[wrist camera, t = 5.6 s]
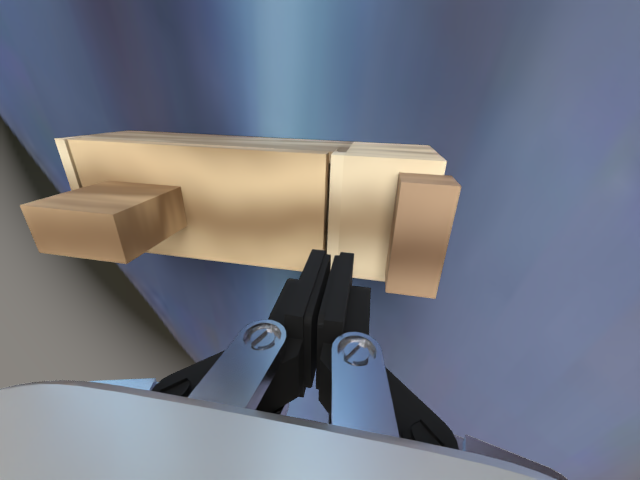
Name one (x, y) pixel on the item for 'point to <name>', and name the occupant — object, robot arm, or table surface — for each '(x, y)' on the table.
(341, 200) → the light wooden long piece
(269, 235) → the lid
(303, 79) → the table surface
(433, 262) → the brown wooden block
